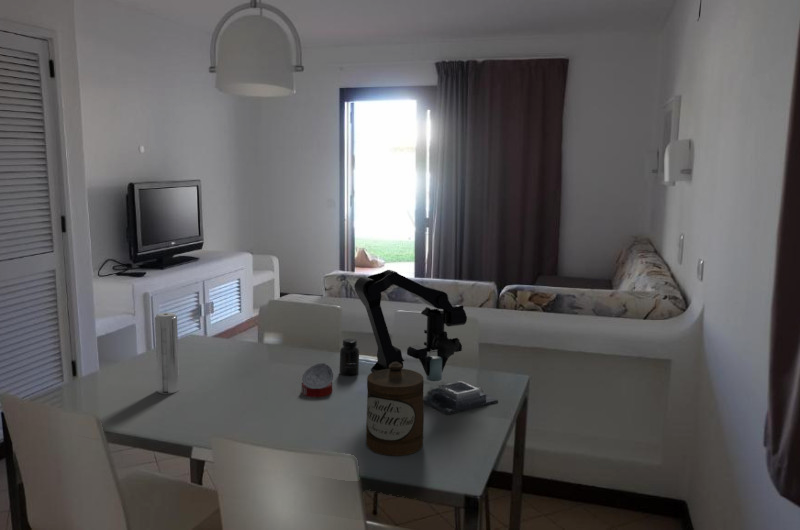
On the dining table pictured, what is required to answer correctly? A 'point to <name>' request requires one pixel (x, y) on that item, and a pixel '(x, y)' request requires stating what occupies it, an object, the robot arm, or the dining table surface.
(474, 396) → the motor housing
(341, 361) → the supplement bottle
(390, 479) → the dining table surface
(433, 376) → the cylinder
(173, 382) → the silver metal cylinder
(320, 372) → the canned food
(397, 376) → the wooden container
